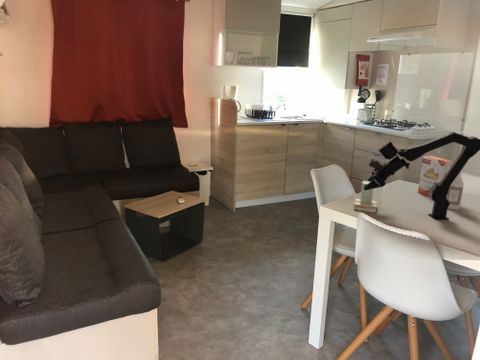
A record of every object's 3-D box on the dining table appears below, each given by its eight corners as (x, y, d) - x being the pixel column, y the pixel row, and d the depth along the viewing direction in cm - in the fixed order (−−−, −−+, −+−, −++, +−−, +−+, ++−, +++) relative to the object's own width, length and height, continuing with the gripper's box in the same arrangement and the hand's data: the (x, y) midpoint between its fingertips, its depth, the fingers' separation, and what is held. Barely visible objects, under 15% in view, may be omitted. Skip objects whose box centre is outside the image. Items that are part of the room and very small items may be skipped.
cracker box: (417, 192, 225) (422, 155, 220) (424, 191, 227) (430, 155, 222) (438, 199, 213) (445, 161, 207) (446, 198, 215) (453, 160, 210)
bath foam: (443, 208, 198) (450, 168, 193) (444, 204, 204) (450, 166, 199) (459, 211, 195) (466, 170, 190) (459, 207, 201) (466, 168, 196)
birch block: (375, 213, 188) (376, 207, 187) (353, 210, 191) (354, 204, 190) (375, 207, 197) (376, 201, 196) (354, 204, 200) (355, 198, 199)
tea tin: (371, 204, 190) (373, 184, 187) (360, 203, 191) (362, 183, 189) (370, 201, 195) (373, 181, 192) (360, 200, 196) (362, 180, 193)
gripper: (380, 150, 194) (354, 170, 200) (380, 157, 177) (352, 178, 183) (395, 168, 194) (369, 187, 200) (397, 176, 177) (368, 197, 183)
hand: (364, 187), depth 191 cm, fingers open, 9 cm apart
